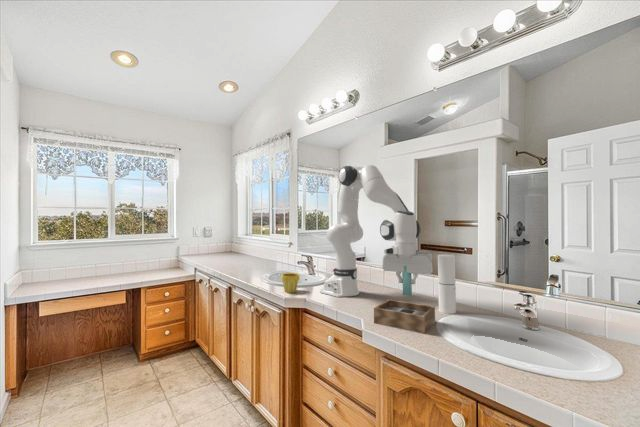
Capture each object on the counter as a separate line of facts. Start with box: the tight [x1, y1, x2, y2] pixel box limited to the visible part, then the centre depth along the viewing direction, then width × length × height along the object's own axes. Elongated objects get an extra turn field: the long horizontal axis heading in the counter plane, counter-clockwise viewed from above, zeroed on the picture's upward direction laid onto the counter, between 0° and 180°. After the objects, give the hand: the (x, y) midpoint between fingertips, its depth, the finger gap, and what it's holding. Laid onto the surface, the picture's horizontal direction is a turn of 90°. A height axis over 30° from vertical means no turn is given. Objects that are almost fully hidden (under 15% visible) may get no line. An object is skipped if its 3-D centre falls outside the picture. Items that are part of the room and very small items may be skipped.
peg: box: [401, 266, 413, 297], centre depth 124 cm, size 4×4×12 cm
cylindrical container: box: [437, 254, 457, 315], centre depth 135 cm, size 7×7×25 cm
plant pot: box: [281, 272, 300, 294], centre depth 176 cm, size 10×10×10 cm
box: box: [373, 299, 436, 334], centre depth 122 cm, size 20×15×6 cm
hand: (407, 283), depth 125 cm, fingers closed on peg, 4 cm apart
